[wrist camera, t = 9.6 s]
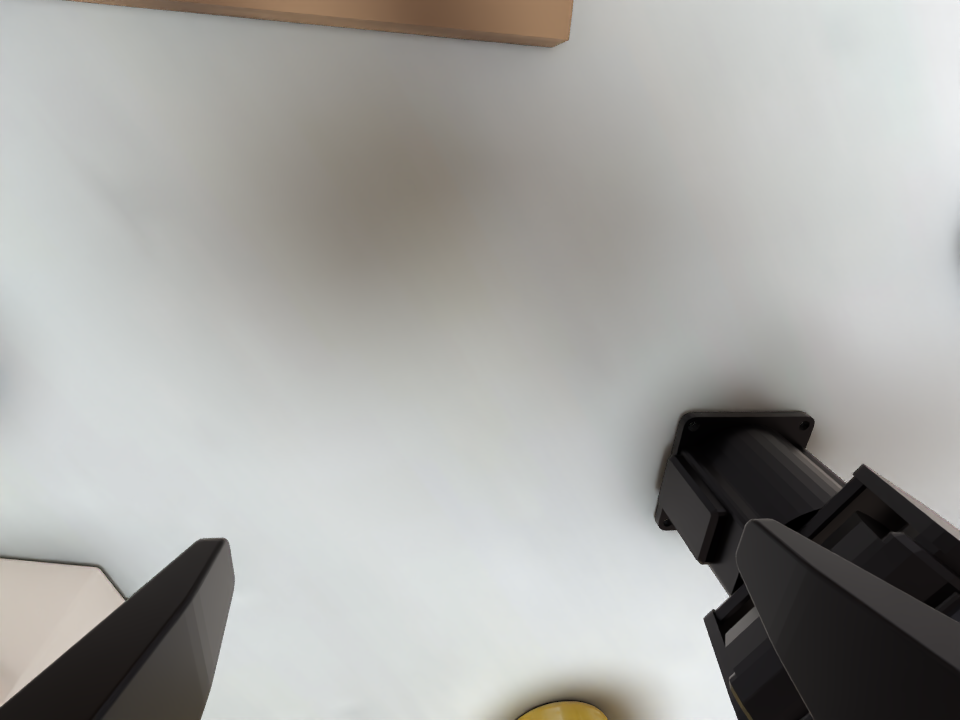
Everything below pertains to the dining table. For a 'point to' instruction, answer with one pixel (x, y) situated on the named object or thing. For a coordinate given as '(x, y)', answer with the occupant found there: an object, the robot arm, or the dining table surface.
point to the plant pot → (565, 712)
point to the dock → (400, 16)
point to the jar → (46, 615)
